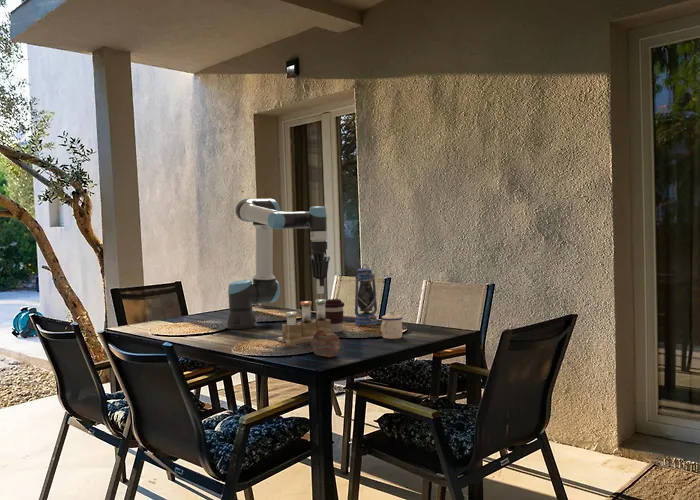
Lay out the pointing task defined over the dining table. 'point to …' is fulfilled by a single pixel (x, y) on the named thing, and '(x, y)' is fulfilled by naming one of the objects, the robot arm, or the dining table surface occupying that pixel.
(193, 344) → the dining table surface
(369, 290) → the lantern
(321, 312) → the sage plunger
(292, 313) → the cream plunger
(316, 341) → the stone
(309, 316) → the terracotta plunger
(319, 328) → the beige boxy slotted piece
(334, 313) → the coffee cup
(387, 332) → the white enamel mug
